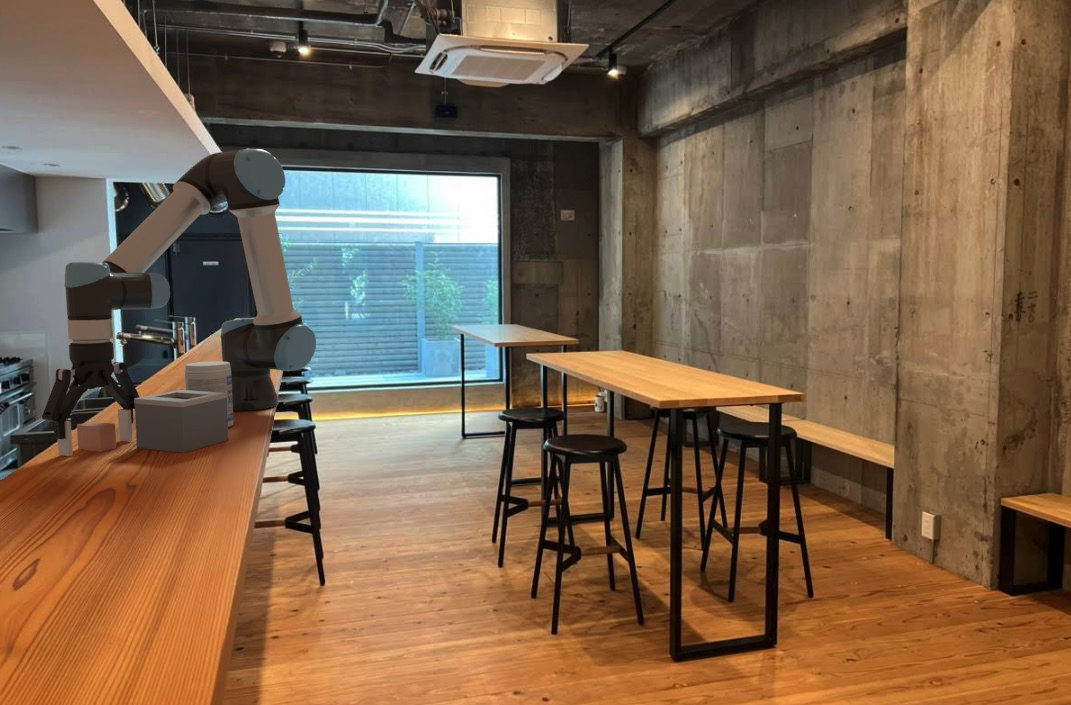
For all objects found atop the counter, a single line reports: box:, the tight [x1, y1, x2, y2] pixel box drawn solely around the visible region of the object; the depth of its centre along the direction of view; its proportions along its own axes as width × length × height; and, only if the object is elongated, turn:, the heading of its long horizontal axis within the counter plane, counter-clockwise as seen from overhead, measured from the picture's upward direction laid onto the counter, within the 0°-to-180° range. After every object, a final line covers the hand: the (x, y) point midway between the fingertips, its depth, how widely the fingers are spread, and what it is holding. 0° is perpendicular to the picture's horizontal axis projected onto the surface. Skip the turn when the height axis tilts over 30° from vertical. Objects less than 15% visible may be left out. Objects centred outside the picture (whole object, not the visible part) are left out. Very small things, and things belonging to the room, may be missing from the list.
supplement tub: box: [184, 361, 234, 428], centre depth 167 cm, size 10×10×15 cm
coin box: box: [134, 389, 229, 454], centre depth 151 cm, size 12×12×10 cm
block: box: [76, 421, 117, 452], centre depth 147 cm, size 6×4×5 cm, turn 71°
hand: (97, 447), depth 147 cm, fingers open, 13 cm apart
